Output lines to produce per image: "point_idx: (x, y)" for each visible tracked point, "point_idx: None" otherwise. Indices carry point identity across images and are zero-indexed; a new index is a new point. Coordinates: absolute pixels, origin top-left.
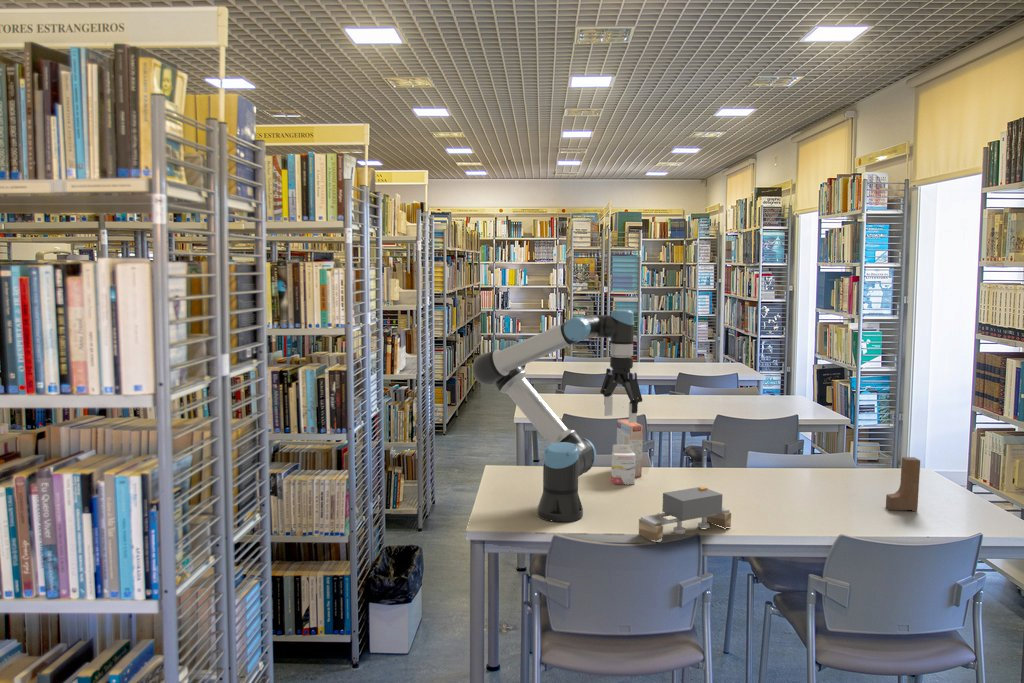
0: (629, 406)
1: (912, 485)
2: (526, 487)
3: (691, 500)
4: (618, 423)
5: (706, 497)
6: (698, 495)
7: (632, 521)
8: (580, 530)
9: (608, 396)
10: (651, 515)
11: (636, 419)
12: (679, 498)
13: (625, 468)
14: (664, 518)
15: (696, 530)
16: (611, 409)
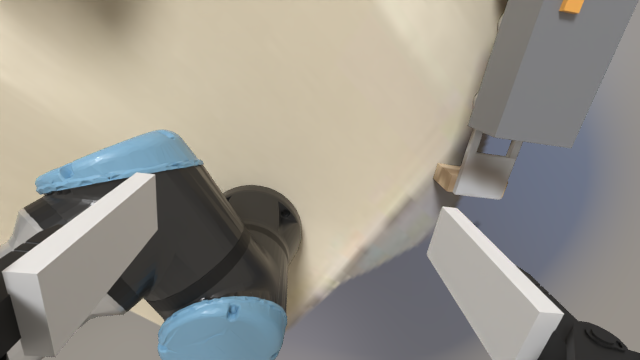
0: (494, 349)
1: None
2: (21, 170)
3: (582, 117)
4: None
5: (609, 60)
6: (585, 68)
7: (373, 132)
8: (346, 247)
9: (15, 315)
10: (465, 167)
11: (467, 220)
12: (553, 138)
13: None
14: (497, 158)
15: None
16: (130, 202)
